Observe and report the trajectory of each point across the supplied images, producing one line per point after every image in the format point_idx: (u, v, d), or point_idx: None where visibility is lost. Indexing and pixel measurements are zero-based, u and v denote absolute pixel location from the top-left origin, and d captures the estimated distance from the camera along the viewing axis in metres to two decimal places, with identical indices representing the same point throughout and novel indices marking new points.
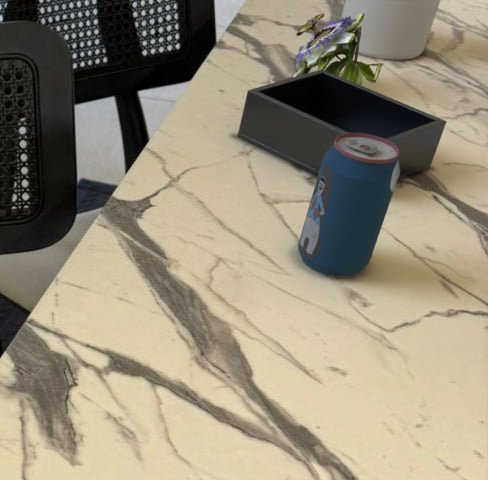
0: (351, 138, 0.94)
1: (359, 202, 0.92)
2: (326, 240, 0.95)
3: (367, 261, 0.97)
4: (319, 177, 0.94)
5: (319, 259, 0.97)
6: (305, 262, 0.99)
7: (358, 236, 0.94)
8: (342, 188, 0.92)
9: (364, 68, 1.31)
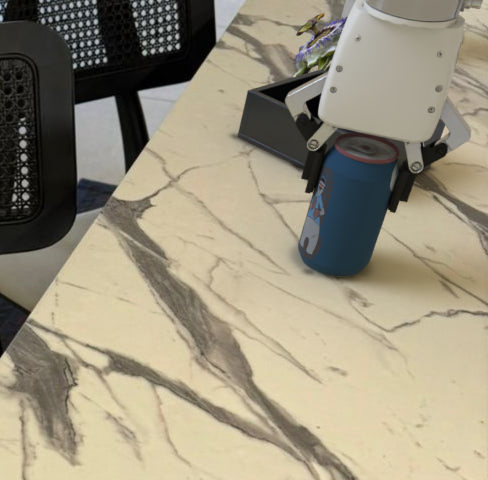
0: (351, 138, 0.94)
1: (359, 202, 0.92)
2: (326, 240, 0.95)
3: (367, 261, 0.97)
4: (319, 177, 0.94)
5: (319, 259, 0.97)
6: (305, 262, 0.99)
7: (358, 236, 0.94)
8: (342, 188, 0.92)
9: None
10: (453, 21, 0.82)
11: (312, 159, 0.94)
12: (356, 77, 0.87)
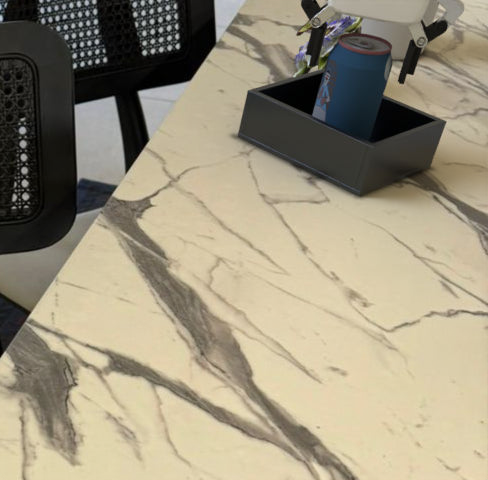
0: (352, 37, 1.13)
1: (359, 89, 1.11)
2: (331, 123, 1.14)
3: None
4: (325, 70, 1.13)
5: None
6: None
7: (358, 119, 1.13)
8: (344, 76, 1.11)
9: None
10: None
11: (315, 36, 1.11)
12: None
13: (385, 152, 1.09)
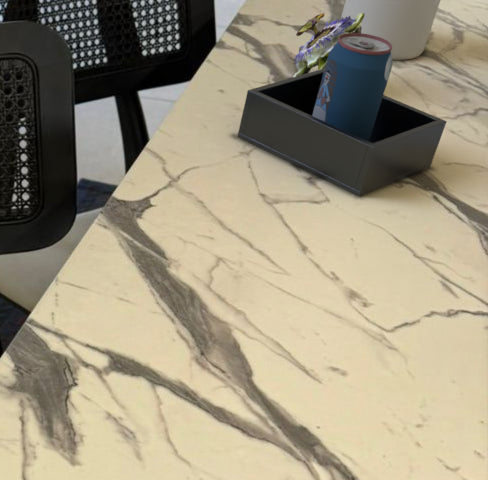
0: (352, 37, 1.13)
1: (359, 88, 1.11)
2: (331, 123, 1.14)
3: None
4: (325, 70, 1.13)
5: None
6: None
7: (358, 119, 1.13)
8: (344, 76, 1.11)
9: None
10: None
11: None
12: None
13: (385, 152, 1.09)
